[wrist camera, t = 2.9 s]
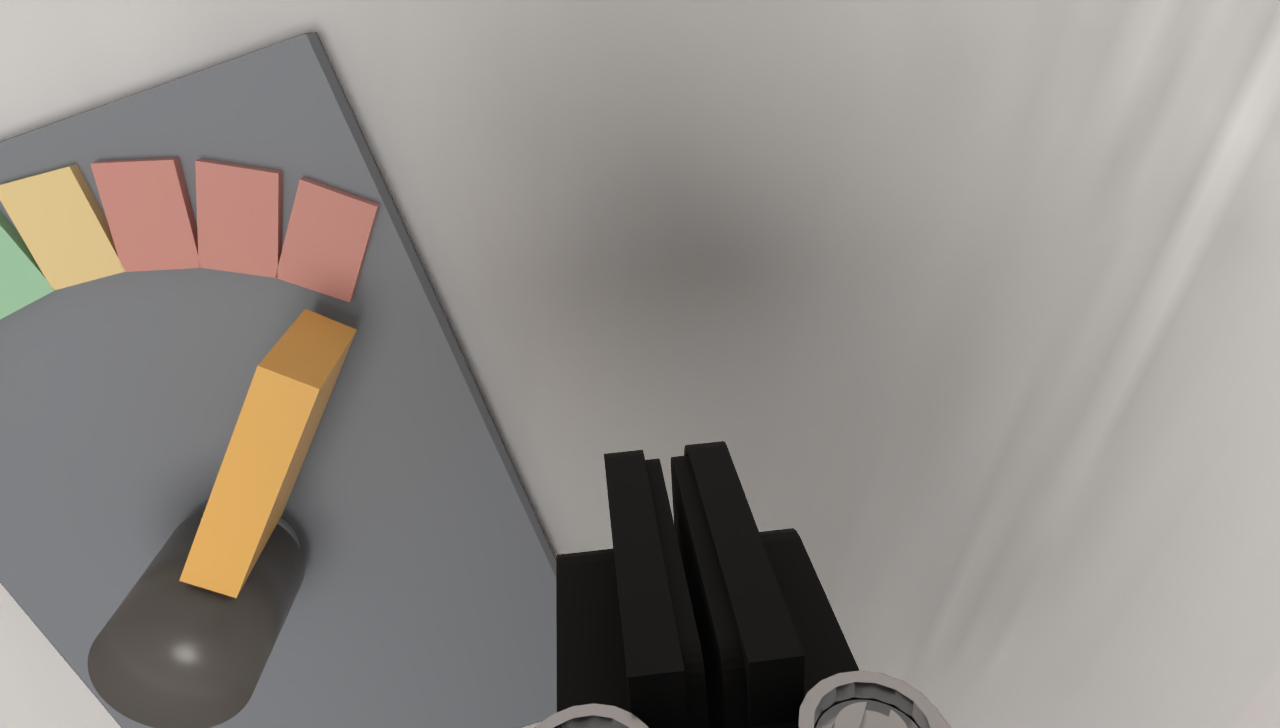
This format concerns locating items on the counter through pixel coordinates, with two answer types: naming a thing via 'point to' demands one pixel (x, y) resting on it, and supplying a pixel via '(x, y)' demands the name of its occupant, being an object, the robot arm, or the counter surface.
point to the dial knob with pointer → (225, 555)
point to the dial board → (218, 385)
